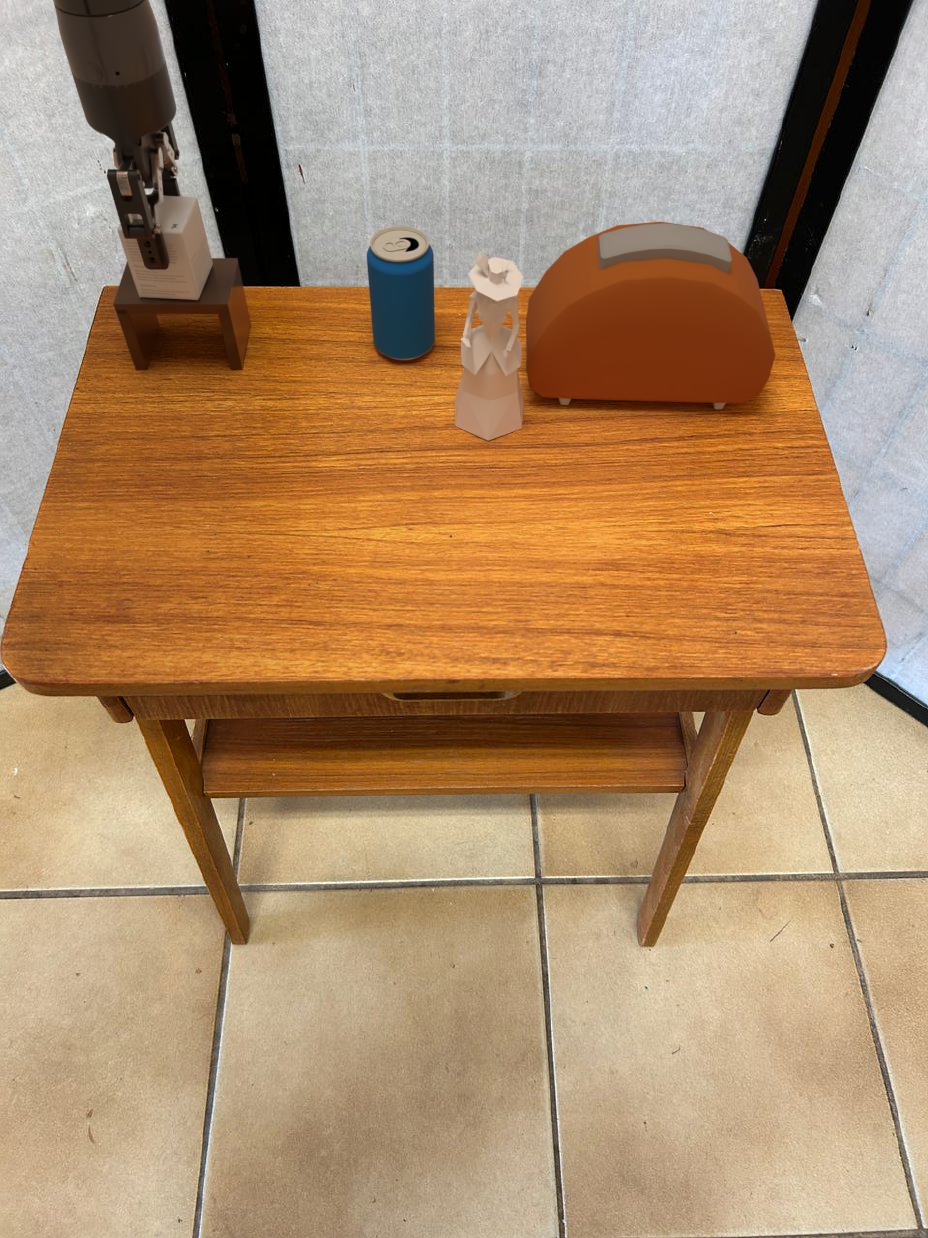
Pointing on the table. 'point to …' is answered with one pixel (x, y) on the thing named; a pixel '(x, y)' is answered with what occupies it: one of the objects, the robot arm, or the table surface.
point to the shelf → (186, 312)
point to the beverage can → (401, 292)
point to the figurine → (491, 353)
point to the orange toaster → (649, 320)
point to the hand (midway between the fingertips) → (166, 240)
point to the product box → (174, 253)
